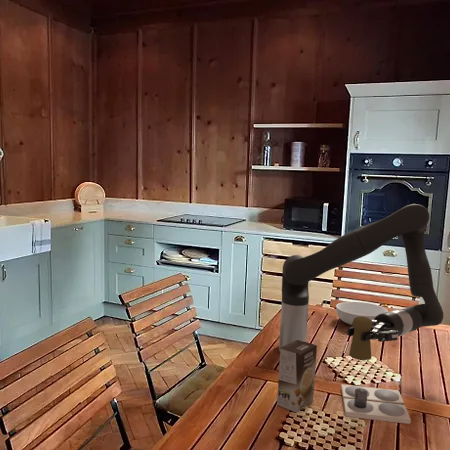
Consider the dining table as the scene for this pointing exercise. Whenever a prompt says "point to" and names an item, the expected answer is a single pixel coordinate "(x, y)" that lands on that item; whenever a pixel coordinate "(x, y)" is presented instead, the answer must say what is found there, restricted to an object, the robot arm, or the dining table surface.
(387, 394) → the board
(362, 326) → the pepper mill
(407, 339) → the dining table surface
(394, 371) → the dining table surface
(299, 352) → the coffee box
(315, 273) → the robot arm
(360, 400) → the pin
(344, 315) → the serving bowl
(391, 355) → the dining table surface
